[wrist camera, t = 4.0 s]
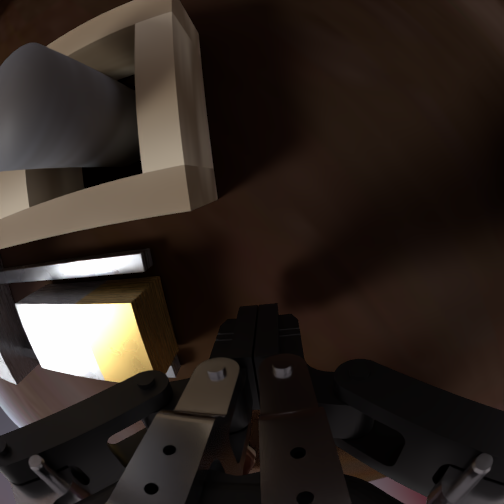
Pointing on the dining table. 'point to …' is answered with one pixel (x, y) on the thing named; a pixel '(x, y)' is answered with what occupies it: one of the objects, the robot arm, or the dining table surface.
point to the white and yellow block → (100, 327)
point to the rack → (104, 124)
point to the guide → (83, 268)
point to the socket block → (12, 340)
